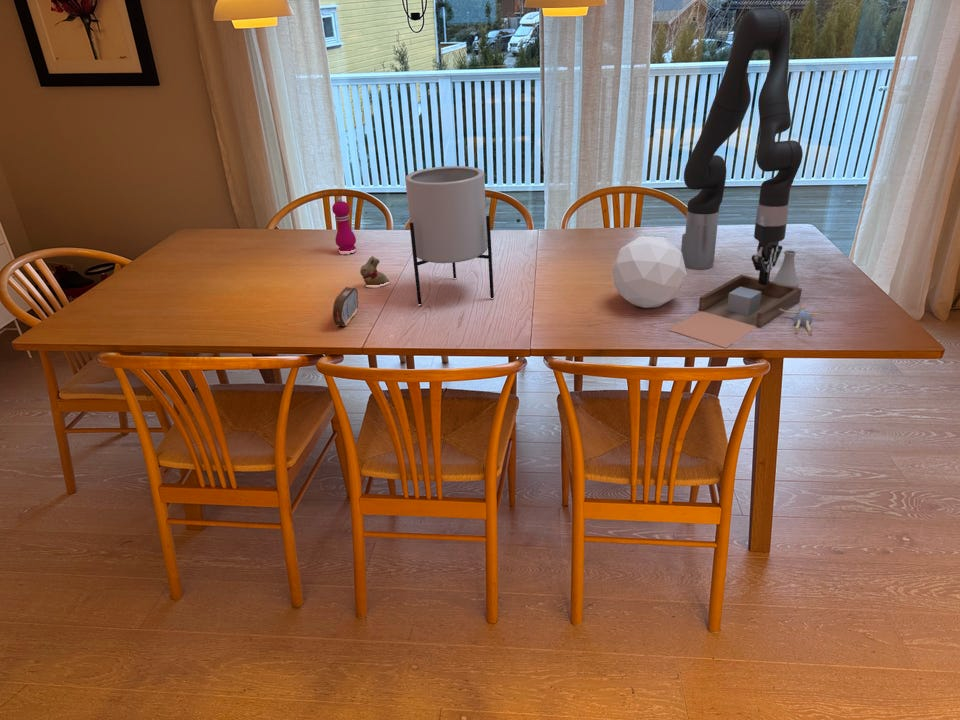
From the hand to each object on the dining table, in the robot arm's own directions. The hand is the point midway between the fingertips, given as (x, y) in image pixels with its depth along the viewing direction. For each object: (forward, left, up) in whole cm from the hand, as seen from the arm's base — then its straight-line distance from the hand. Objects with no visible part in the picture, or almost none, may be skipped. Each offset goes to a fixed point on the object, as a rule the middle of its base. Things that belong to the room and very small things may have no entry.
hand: (763, 283), depth 187 cm
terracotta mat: (0, -24, -5) cm, 25 cm away
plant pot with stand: (-69, -50, -5) cm, 86 cm away
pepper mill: (-131, -48, -5) cm, 140 cm away
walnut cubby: (0, -6, -5) cm, 8 cm away
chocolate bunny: (-95, -61, -5) cm, 113 cm away
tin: (-79, -82, -5) cm, 114 cm away
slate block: (0, -9, -5) cm, 10 cm away
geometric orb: (-22, -21, -5) cm, 31 cm away
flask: (0, +15, -5) cm, 16 cm away
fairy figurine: (+15, -8, -6) cm, 18 cm away
